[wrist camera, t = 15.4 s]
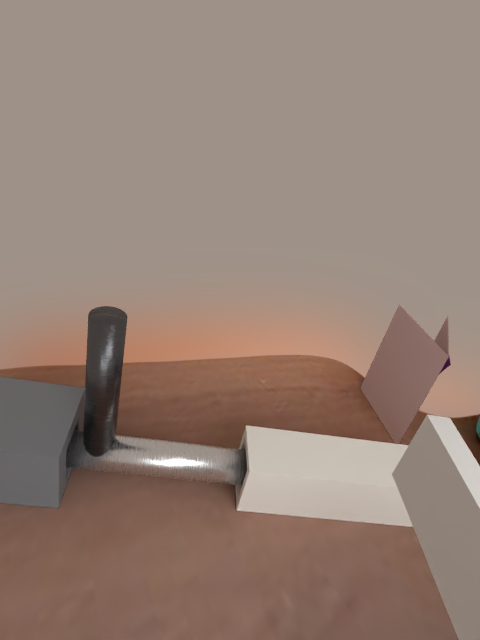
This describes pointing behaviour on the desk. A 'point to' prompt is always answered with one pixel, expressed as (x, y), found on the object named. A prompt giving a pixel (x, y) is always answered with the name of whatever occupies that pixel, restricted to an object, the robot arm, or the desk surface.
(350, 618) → the desk surface
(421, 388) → the greeting card
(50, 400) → the socket block
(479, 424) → the decorative dice
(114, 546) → the desk surface
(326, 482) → the elongated cream cuboid
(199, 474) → the slide bolt
